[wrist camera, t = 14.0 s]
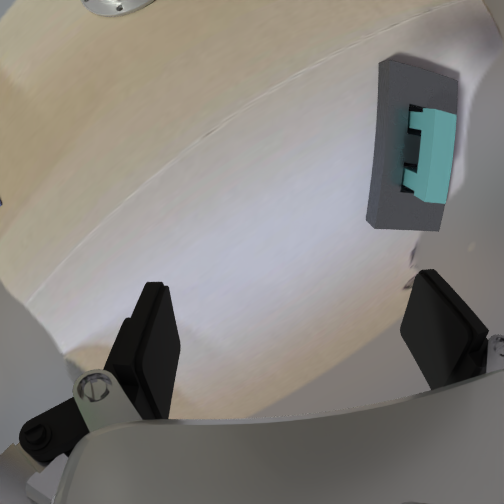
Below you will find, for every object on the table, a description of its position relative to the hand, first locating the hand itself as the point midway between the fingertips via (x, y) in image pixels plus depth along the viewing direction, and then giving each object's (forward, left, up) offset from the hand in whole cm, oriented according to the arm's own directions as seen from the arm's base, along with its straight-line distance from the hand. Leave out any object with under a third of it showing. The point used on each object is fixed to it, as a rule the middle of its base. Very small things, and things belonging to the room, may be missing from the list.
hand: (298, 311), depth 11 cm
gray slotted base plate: (-4, +19, -26) cm, 32 cm away
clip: (-4, +19, -26) cm, 32 cm away
